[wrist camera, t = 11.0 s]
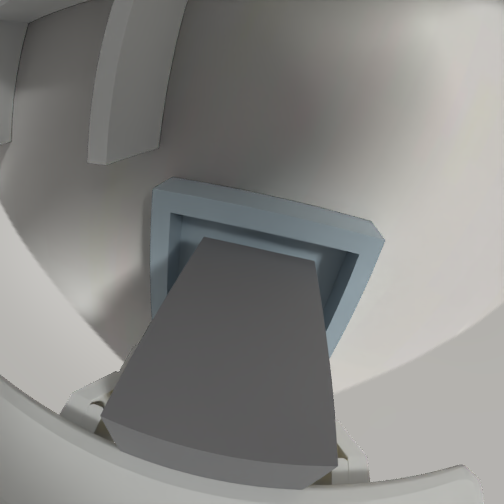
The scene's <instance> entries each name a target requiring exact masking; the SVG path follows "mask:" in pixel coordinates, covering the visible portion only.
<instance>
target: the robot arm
mask: <svg viewBox="0 0 504 504" xmlns="http://www.w3.org/2000/svg"><path fill="white" fill-rule="evenodd" d="M137 346H138V345H135V346H134V347H133V348H132V350H131V352H130V353H129V355H128V357H127V358H126V360H125V362H124V364H123V365H122V367H121V369H120V371H119V372H116V371H115V372H113V373H111V374H109V375H107V376H105V377H103V378H101V379H99V380H97V381H95V382H93V383H91V384H89V385H87V386H85V387H83V388H81V389H79V390H76V391H74V392H73V393H72V395H71V397H70V398H69V399H68V401H67V403H66V405H65V406H64V408H63V409H62V411H61V413H60V415H59V414H57V413H55V412H53V411H52V410H50V409H49V408H47V407H45V406H44V405H42V404H41V403H39V402H37V401H36V400H34V399H33V398H31V397H30V396H28V395H27V394H25V393H24V392H23V391H21V390H20V389H19V388H17V387H15V386H14V385H13V384H12V383H10V382H9V381H8V380H7V379H5V378H4V377H3V376H1V375H0V504H484V497H483V489H482V485H481V482H480V480H479V478H478V477H477V476H476V475H475V474H474V473H473V472H472V471H471V470H470V469H469V468H468V467H466V466H465V465H456V466H453V467H449V468H446V469H442V470H438V471H434V472H430V473H426V474H421V475H416V476H411V477H406V478H400V479H393V480H386V481H378V482H370V477H369V466H368V457H367V455H366V454H365V453H364V452H363V451H362V449H361V448H360V447H359V446H358V444H357V443H356V442H355V441H354V439H353V438H352V437H351V436H350V434H349V433H348V432H347V431H346V429H345V428H344V427H343V426H342V424H341V423H340V422H339V421H338V420H335V423H336V437H337V454H338V467H336V468H335V469H333V470H332V471H331V472H329V473H328V474H326V475H325V476H323V477H322V478H320V479H319V480H317V481H316V482H314V483H313V484H311V485H309V486H308V487H306V488H305V489H303V490H296V489H279V488H267V487H258V486H250V485H243V484H236V483H230V482H224V481H219V480H214V479H209V478H205V477H200V476H196V475H192V474H188V473H184V472H181V471H177V470H174V469H170V468H167V467H164V466H160V465H157V464H154V463H151V462H148V461H145V460H143V459H140V458H137V457H134V456H132V455H129V454H127V453H124V452H122V451H120V450H119V448H118V447H117V445H116V443H114V440H113V438H112V437H111V435H110V433H109V431H108V430H107V428H106V426H105V424H104V422H103V420H102V419H101V417H100V415H101V413H102V411H103V409H104V407H105V405H106V403H107V401H108V399H109V397H110V396H111V394H112V392H113V390H114V388H115V386H116V384H117V382H118V380H119V379H120V377H121V375H122V373H123V371H124V369H125V367H126V366H127V364H128V362H129V360H130V358H131V357H132V355H133V353H134V351H135V349H136V348H137Z"/></svg>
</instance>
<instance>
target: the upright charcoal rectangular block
mask: <svg viewBox="0 0 504 504" xmlns="http://www.w3.org/2000/svg"><path fill="white" fill-rule="evenodd" d="M100 417H101V419H102V420H103V422H104V424H105V426H106V428H107V430H108V431H109V433H110V435H111V437H112V438H113V440H114V442H115V443H116V445H117V447H118V448H119V450H120V451H122V452H124V453H127V454H129V455H132V456H134V457H137V458H140V459H143V460H145V461H148V462H151V463H154V464H157V465H160V466H164V467H167V468H170V469H174V470H177V471H181V472H184V473H188V474H192V475H196V476H200V477H205V478H209V479H214V480H219V481H224V482H230V483H236V484H243V485H250V486H258V487H267V488H279V489H296V490H303V489H305V488H306V487H308V486H309V485H311V484H313V483H314V482H316V481H317V480H319V479H320V478H322V477H323V476H325V475H326V474H328V473H329V472H331V471H332V470H333V469H335V468H336V467H338V454H337V437H336V423H335V410H334V399H333V389H332V379H331V370H330V361H329V353H328V345H327V338H326V330H325V323H324V316H323V309H322V303H321V296H320V290H319V284H318V278H317V272H316V266H315V261H312V260H308V259H303V258H299V257H294V256H290V255H285V254H281V253H276V252H272V251H267V250H263V249H258V248H254V247H249V246H245V245H240V244H236V243H231V242H227V241H222V240H218V239H213V238H208V237H203V239H202V240H201V242H200V243H199V245H198V246H197V248H196V250H195V251H194V253H193V254H192V256H191V257H190V259H189V261H188V262H187V264H186V265H185V267H184V269H183V270H182V272H181V273H180V275H179V277H178V278H177V280H176V281H175V283H174V285H173V286H172V288H171V290H170V291H169V293H168V295H167V296H166V298H165V300H164V301H163V303H162V305H161V306H160V308H159V310H158V311H157V313H156V315H155V316H154V318H153V320H152V322H151V323H150V325H149V327H148V328H147V330H146V332H145V334H144V335H143V337H142V339H141V341H140V342H139V344H138V346H137V348H136V349H135V351H134V353H133V355H132V357H131V358H130V360H129V362H128V364H127V366H126V367H125V369H124V371H123V373H122V375H121V377H120V379H119V380H118V382H117V384H116V386H115V388H114V390H113V392H112V394H111V396H110V397H109V399H108V401H107V403H106V405H105V407H104V409H103V411H102V413H101V415H100Z"/></svg>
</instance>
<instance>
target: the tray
mask: <svg viewBox="0 0 504 504" xmlns="http://www.w3.org/2000/svg"><path fill="white" fill-rule="evenodd" d="M203 237H208V238H213V239H218V240H222V241H227V242H231V243H236V244H240V245H245V246H249V247H254V248H258V249H263V250H267V251H272V252H276V253H281V254H285V255H290V256H294V257H299V258H303V259H308V260H312V261H315V266H316V272H317V278H318V284H319V290H320V296H321V303H322V309H323V316H324V323H325V330H326V338H327V345H328V353H329V358H330V357H331V355H332V353H333V351H334V349H335V347H336V346H337V344H338V342H339V340H340V338H341V336H342V334H343V332H344V330H345V329H346V327H347V325H348V323H349V321H350V319H351V317H352V315H353V313H354V311H355V308H356V306H357V304H358V302H359V300H360V298H361V296H362V294H363V291H364V289H365V287H366V285H367V283H368V280H369V278H370V276H371V274H372V271H373V269H374V267H375V264H376V262H377V259H378V257H379V254H380V252H381V250H382V247H383V244H384V242H385V239H384V238H383V236H382V235H381V234H380V232H379V231H378V230H377V228H376V227H375V225H374V224H373V223H372V221H369V220H365V219H362V218H358V217H355V216H351V215H347V214H343V213H340V212H336V211H332V210H328V209H324V208H320V207H316V206H312V205H308V204H304V203H299V202H295V201H291V200H287V199H282V198H278V197H273V196H269V195H264V194H260V193H255V192H250V191H245V190H240V189H235V188H230V187H225V186H220V185H215V184H209V183H204V182H198V181H193V180H187V179H181V178H175V177H172V178H170V179H168V180H167V181H165V182H163V183H161V184H160V185H158V186H156V187H155V188H153V192H152V210H151V239H150V284H151V313H152V320H153V318H154V316H155V315H156V313H157V311H158V310H159V308H160V306H161V305H162V303H163V301H164V300H165V298H166V296H167V295H168V293H169V291H170V290H171V288H172V286H173V285H174V283H175V281H176V280H177V278H178V277H179V275H180V273H181V272H182V270H183V269H184V267H185V265H186V264H187V262H188V261H189V259H190V257H191V256H192V254H193V253H194V251H195V250H196V248H197V246H198V245H199V243H200V242H201V240H202V239H203Z"/></svg>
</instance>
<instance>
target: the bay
mask: <svg viewBox="0 0 504 504" xmlns="http://www.w3.org/2000/svg"><path fill="white" fill-rule="evenodd" d="M86 1H89V0H0V145H1V144H4V143H8V142H11V131H12V112H13V101H14V92H15V84H16V77H17V71H18V65H19V60H20V55H21V50H22V46H23V42H24V38H25V34H26V30H27V26H28V23H30V22H32V21H34V20H36V19H39V18H41V17H43V16H46V15H48V14H51V13H53V12H56V11H59V10H61V9H64V8H67V7H70V6H73V5H76V4H79V3H82V2H86ZM186 4H187V0H114V2H113V5H112V8H111V11H110V15H109V18H108V22H107V25H106V29H105V33H104V37H103V41H102V45H101V50H100V55H99V60H98V65H97V70H96V76H95V82H94V89H93V96H92V104H91V113H90V123H89V136H88V156H87V163H91V164H100V165H108V164H111V163H114V162H117V161H120V160H122V159H125V158H128V157H131V156H135V155H138V154H141V153H144V152H147V151H151V150H154V149H157V148H159V141H160V133H161V125H162V118H163V111H164V105H165V98H166V92H167V86H168V81H169V76H170V70H171V65H172V60H173V56H174V51H175V47H176V42H177V38H178V34H179V30H180V26H181V22H182V18H183V14H184V11H185V7H186Z"/></svg>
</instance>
